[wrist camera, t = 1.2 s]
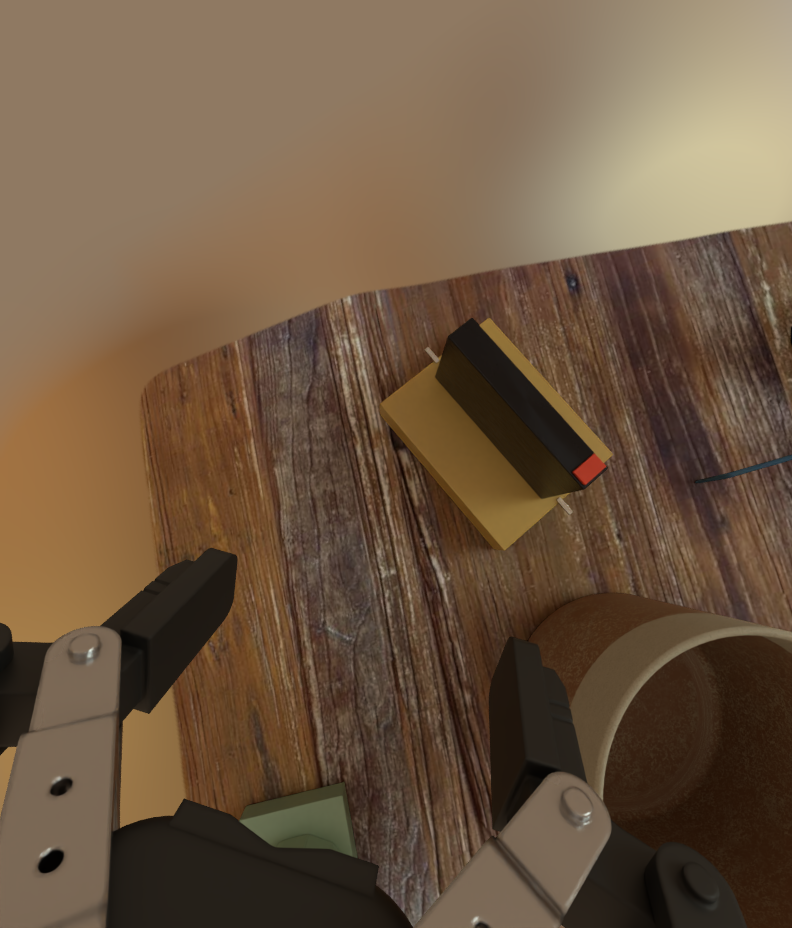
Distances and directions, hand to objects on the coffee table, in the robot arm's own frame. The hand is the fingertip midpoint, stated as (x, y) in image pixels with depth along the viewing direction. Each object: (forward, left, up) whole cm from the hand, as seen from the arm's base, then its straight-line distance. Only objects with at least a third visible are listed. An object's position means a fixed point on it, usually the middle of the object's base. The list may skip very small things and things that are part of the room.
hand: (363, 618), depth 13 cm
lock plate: (-2, +13, -22) cm, 26 cm away
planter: (+19, +7, -22) cm, 30 cm away
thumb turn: (-2, +13, -19) cm, 23 cm away
